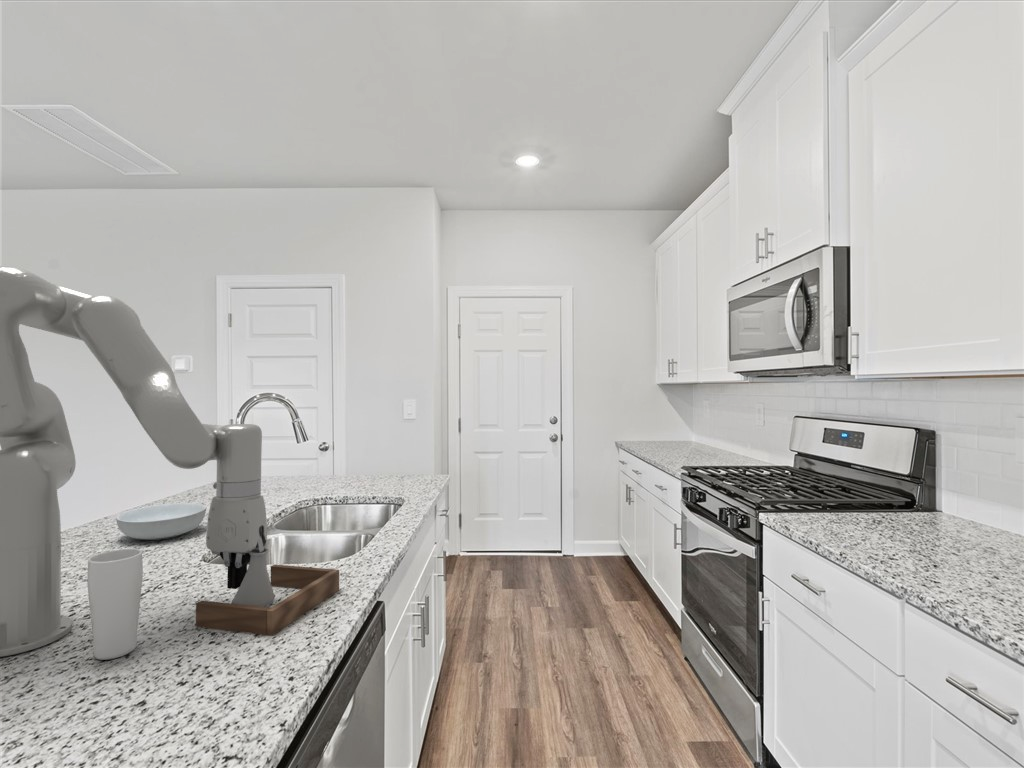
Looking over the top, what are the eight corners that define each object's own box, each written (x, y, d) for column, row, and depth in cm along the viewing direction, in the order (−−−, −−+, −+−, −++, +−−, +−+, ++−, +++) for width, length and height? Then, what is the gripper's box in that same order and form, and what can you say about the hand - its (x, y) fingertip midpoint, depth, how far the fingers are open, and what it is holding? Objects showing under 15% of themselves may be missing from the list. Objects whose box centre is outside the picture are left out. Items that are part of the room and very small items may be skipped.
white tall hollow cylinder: (135, 637, 85) (135, 545, 85) (148, 650, 80) (148, 554, 81) (82, 654, 79) (82, 556, 80) (93, 669, 75) (94, 565, 75)
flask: (259, 614, 94) (266, 560, 93) (222, 607, 94) (228, 553, 94) (281, 597, 101) (287, 547, 101) (247, 591, 102) (252, 541, 101)
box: (272, 635, 85) (272, 611, 85) (195, 626, 89) (195, 603, 89) (339, 589, 105) (339, 569, 105) (274, 583, 108) (274, 564, 108)
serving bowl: (95, 544, 137) (95, 518, 137) (166, 523, 157) (166, 501, 157) (159, 549, 132) (159, 522, 132) (223, 528, 152) (223, 504, 152)
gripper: (189, 491, 97) (187, 590, 96) (260, 495, 93) (258, 597, 93) (220, 484, 104) (218, 576, 104) (286, 487, 101) (284, 582, 100)
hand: (237, 586), depth 98 cm, fingers closed
